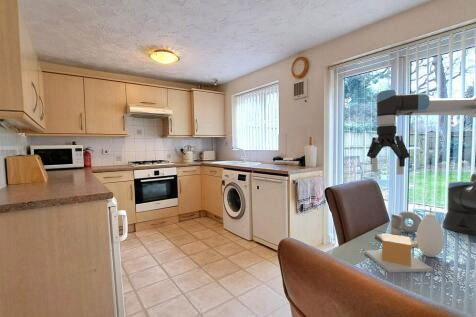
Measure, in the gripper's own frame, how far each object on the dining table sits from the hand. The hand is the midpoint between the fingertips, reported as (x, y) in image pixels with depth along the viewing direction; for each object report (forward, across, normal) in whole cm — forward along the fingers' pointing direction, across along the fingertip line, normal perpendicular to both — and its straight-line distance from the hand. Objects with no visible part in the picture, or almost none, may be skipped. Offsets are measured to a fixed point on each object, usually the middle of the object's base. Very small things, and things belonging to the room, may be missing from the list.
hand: (386, 173), depth 107 cm
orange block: (+27, -22, +19) cm, 40 cm away
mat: (+28, -22, +19) cm, 40 cm away
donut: (+28, -1, -11) cm, 30 cm away
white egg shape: (+28, -22, +4) cm, 36 cm away
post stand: (+28, -8, +4) cm, 29 cm away
